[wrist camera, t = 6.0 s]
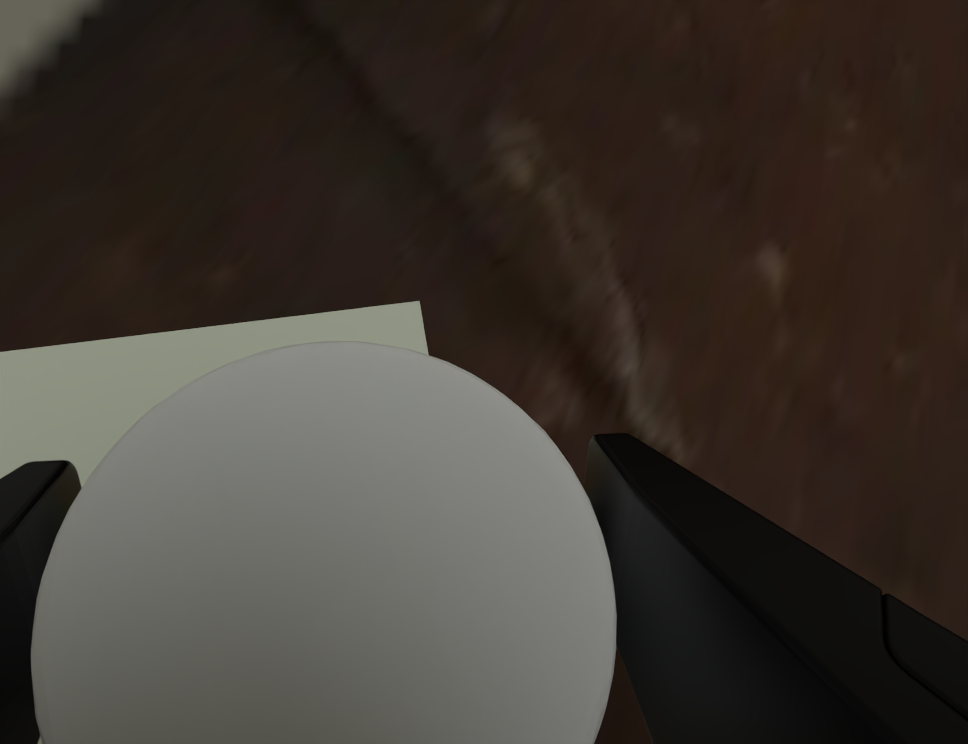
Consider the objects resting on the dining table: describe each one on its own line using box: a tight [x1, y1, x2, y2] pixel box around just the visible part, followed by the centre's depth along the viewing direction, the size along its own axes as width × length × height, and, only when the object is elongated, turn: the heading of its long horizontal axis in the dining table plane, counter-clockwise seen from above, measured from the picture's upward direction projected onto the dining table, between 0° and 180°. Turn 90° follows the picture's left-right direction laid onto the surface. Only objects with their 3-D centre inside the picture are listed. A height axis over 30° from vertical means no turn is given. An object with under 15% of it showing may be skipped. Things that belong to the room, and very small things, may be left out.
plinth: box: [0, 301, 428, 744], centre depth 19 cm, size 12×12×4 cm
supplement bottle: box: [31, 341, 617, 744], centre depth 10 cm, size 5×5×10 cm
